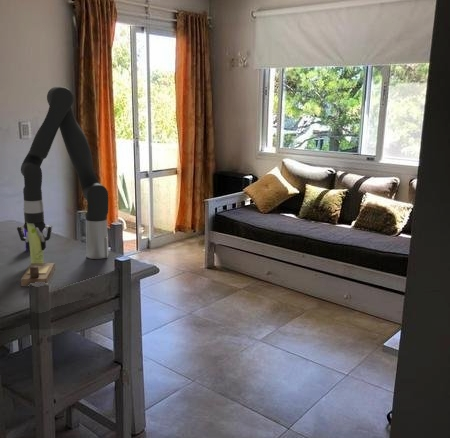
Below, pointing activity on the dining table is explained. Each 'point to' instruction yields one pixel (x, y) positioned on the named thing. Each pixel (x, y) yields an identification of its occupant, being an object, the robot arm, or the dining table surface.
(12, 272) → the dining table surface
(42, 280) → the brown flat panelled slab
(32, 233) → the tube
